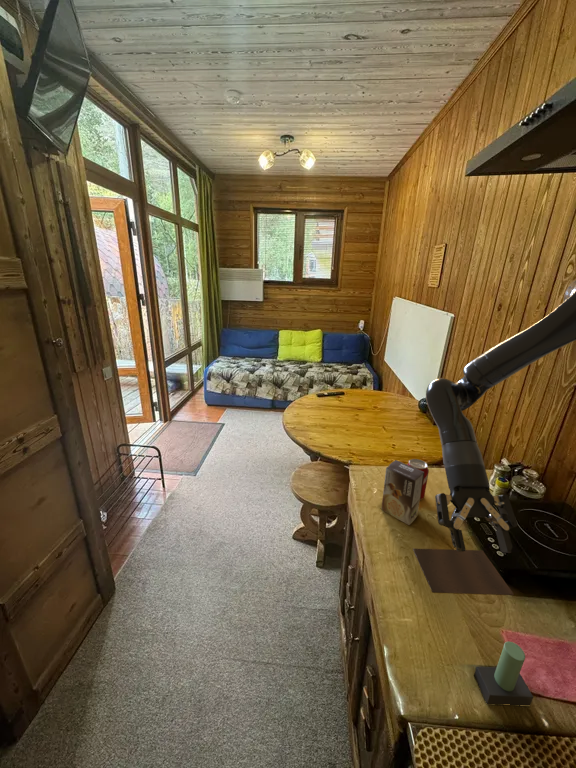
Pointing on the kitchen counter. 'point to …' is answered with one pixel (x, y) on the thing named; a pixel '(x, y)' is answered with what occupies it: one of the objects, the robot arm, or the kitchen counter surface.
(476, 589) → the board
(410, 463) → the soda can
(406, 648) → the kitchen counter surface
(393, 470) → the coffee box
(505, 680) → the green post on base
